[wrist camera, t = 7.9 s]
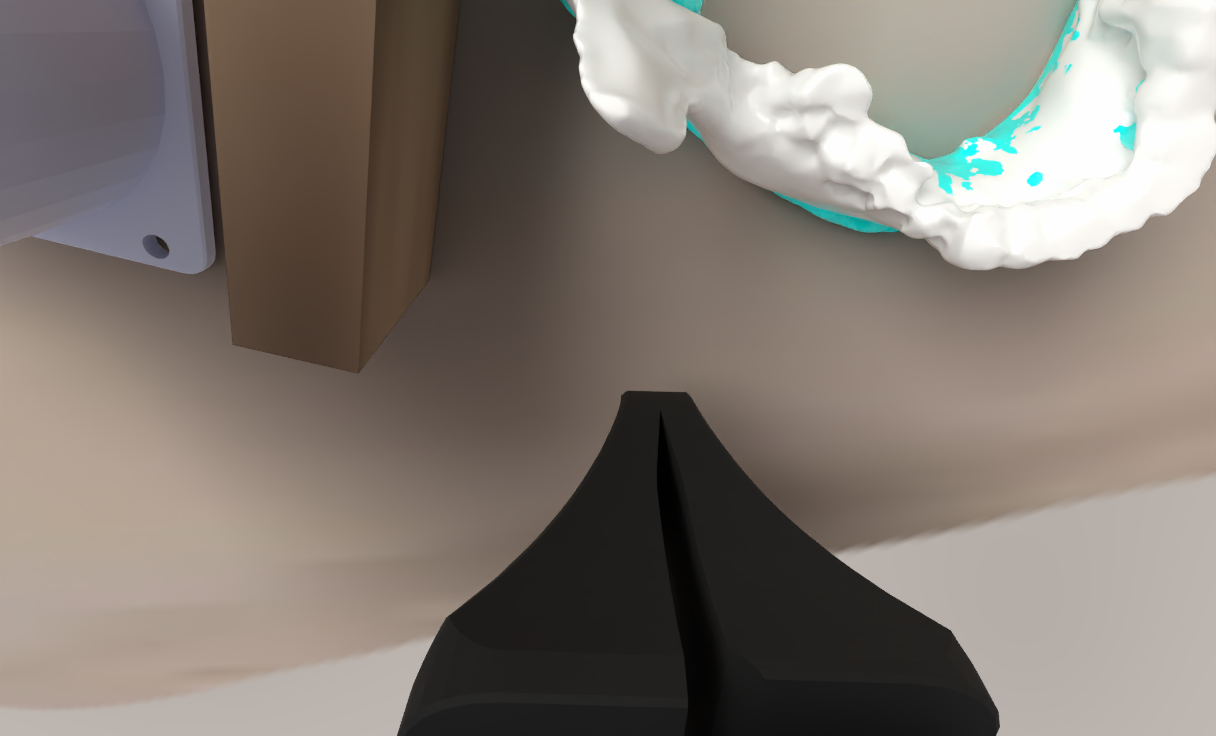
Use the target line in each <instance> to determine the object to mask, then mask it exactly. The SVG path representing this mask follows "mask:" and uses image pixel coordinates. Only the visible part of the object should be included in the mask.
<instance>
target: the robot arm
mask: <svg viewBox="0 0 1216 736" xmlns="http://www.w3.org/2000/svg"><path fill="white" fill-rule="evenodd" d="M30 236H31V237H36V238H40V239H44V240H48V241H52V242H56V243H60V244H65V245H69V246H73V247H77V248H81V249H85V250H89V251H94V252H98V253H102V254H106V255H110V256H114V257H119V258H123V259H127V260H131V261H135V262H139V263H143V264H148V265H152V266H156V267H160V268H164V269H168V270H172V271H177V272H181V273H185V274H196V273H199V272H202V271H203V270H205V269H207V268H209V267H210V266H211V265H212V264H213V263H214V261H215V256H216V250H215V239H214V229H213V218H212V207H211V197H210V186H209V175H208V164H207V154H206V143H205V132H204V122H203V111H202V100H201V90H200V79H199V68H198V58H197V47H196V36H195V25H194V15H193V4H192V0H0V247H2V246H5V245H7V244H10V243H13V242H16V241H18V240H21V239H24V238H27V237H30ZM156 236H158V237H160V238H162V239H163V240H164V241H165V242H166V243H167V245H168V248H169V251H167V250H165V249H163V248H162V247H161V246H160V245H159V244H158V242H157V239H156ZM999 728H1000V724H999V712H998V710H997V708H996V706H995V705H994V702H993V701H992V699H991V697H990V695H989V693H988V691H987V690H986V688H985V686H984V684H983V682H982V680H981V678H980V676H979V675H978V673H977V671H976V669H975V668H974V666H973V664H972V663H971V661H970V659H969V658H968V656H967V655H966V653H965V652H964V650H963V649H962V647H961V646H960V644H959V643H958V641H957V640H956V638H955V636H954V635H953V633H952V632H951V630H949V629H947V628H946V627H944V626H942V625H941V624H938V623H937V622H935V621H934V620H932V619H930V618H929V617H927V616H925V615H924V614H922V613H920V612H919V611H917V610H915V609H914V608H912V607H910V606H908V605H907V604H905V603H903V602H902V601H900V600H898V599H896V598H895V597H893V596H892V595H890V594H888V593H887V592H885V591H884V590H882V589H880V588H879V587H878V586H876V585H875V584H873V583H872V582H870V581H869V580H867V579H866V578H864V577H863V576H861V575H860V574H859V573H857V572H856V571H854V570H853V569H851V568H850V567H849V566H847V565H846V564H845V563H843V562H842V561H840V560H839V559H838V558H836V557H835V556H834V555H832V554H831V553H830V552H829V551H827V550H826V549H825V548H824V547H822V546H821V545H820V544H819V543H817V542H816V541H815V540H814V539H812V538H811V537H810V536H809V535H807V534H806V533H805V532H804V531H802V530H801V529H800V528H799V527H798V526H797V525H796V524H794V523H793V522H792V521H791V520H790V519H789V518H788V517H787V516H785V515H784V514H783V513H782V512H781V511H780V510H779V509H778V508H777V507H776V506H775V505H774V504H773V503H772V502H771V501H770V500H769V499H768V498H767V497H766V496H765V495H764V494H763V493H762V492H761V490H760V489H759V488H758V487H757V486H756V485H755V484H754V483H753V482H752V480H751V479H750V478H749V477H748V476H747V475H746V474H745V472H744V471H743V470H742V469H741V468H740V467H739V465H738V464H737V463H736V462H735V460H734V459H733V458H732V457H731V455H730V454H729V453H728V451H727V450H726V449H725V447H724V446H723V445H722V443H721V442H720V441H719V439H718V438H717V437H716V435H715V434H714V432H713V431H712V430H711V428H710V427H709V425H708V424H707V422H706V421H705V419H704V418H703V416H702V415H701V413H700V411H699V410H698V408H697V406H696V405H695V403H694V401H693V400H692V398H691V397H690V396H689V394H688V393H687V392H651V391H626V392H625V393H624V394H623V395H621V403H620V407H619V410H618V413H617V416H616V419H615V421H614V424H613V426H612V429H611V431H610V433H609V435H608V437H607V439H606V441H605V443H604V445H603V447H602V449H601V451H600V453H599V455H598V456H597V458H596V460H595V461H594V463H593V465H592V466H591V468H590V470H589V471H588V473H587V475H586V476H585V478H584V479H583V481H582V482H581V484H580V485H579V487H578V488H577V490H576V491H575V492H574V494H573V495H572V497H571V498H570V499H569V501H568V502H567V503H566V505H565V506H564V507H563V508H562V510H561V511H560V512H559V513H558V515H557V516H556V517H555V518H554V519H553V520H552V522H551V523H550V524H549V525H548V526H547V527H546V529H545V530H544V531H543V532H542V533H541V534H540V535H539V537H538V538H537V539H536V540H535V541H534V542H533V543H532V544H531V545H530V546H529V547H528V548H527V549H526V550H525V551H524V552H523V553H522V554H521V555H520V556H519V557H518V558H517V559H515V560H514V561H513V562H512V563H511V564H510V565H509V566H508V567H507V568H506V569H505V570H504V571H503V572H502V573H501V574H500V575H499V576H498V577H496V578H495V579H494V580H493V581H492V582H491V583H489V584H488V585H487V586H486V587H484V588H483V589H482V590H481V591H479V592H478V593H477V594H476V595H474V596H473V597H472V598H471V599H469V600H468V601H467V602H466V603H464V604H463V605H462V606H461V607H459V608H458V609H457V610H456V611H454V612H453V613H452V614H450V615H449V616H448V617H447V618H446V619H445V621H444V623H443V624H442V626H441V628H440V630H439V632H438V633H437V635H436V637H435V639H434V641H433V643H432V645H431V647H430V649H429V651H428V653H427V655H426V657H425V659H424V661H423V663H422V666H421V668H420V670H419V672H418V675H417V677H416V679H415V682H414V684H413V687H412V690H411V693H410V696H409V699H408V702H407V705H406V709H405V712H404V715H403V718H402V721H401V725H400V728H399V731H398V734H397V736H996V734H997V732H998V730H999Z"/></svg>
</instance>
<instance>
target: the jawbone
mask: <svg viewBox="0 0 1216 736" xmlns="http://www.w3.org/2000/svg"><path fill="white" fill-rule="evenodd" d="M560 1H561V2H562V3H563V4H564V6H565V7H566V9H567V10H568V11H569V12H570V13H571V14H572V15H573V16H574V17H576V19H577V24H576V27H575V32H574V34H573V39H574V43H575V46H576V48H577V51H578V53H579V56H580V63H579V72H580V78H581V84H582V87H583V89H584V92H585V94H586V96H587V97H588V99H589V101H590V103H591V105H592V106H593V107H594V109H595V110H596V111H597V112H598V113H599V115H600V116H601V117H602V118H603V119H604V120H605V121H606V122H607V123H608V124H609V125H610V126H611V127H612V128H614V129H615V130H616V131H618V132H619V133H621V134H623V135H625V136H626V137H628V138H630V139H632V140H634V141H635V142H637V143H639V144H641V145H643V146H644V147H646V148H648V149H649V150H651V151H652V152H654V153H656V154H666V153H669V152H672V151H674V150H676V149H677V148H678V147H679V146H680V145H681V143H682V142H683V140H684V139H685V137H686V128H687V129H689V130H690V131H691V132H692V133H693V134H694V135H695V136H697V137H698V138H700V139H701V140H702V141H703V142H704V144H705V146H707V147H708V148H709V150H710V151H711V152H712V154H713V155H714V156H715V157H716V159H717V160H718V161H719V162H720V163H721V164H722V165H723V166H724V167H725V168H726V169H727V170H729V171H730V172H731V173H733V174H734V175H736V176H737V177H739V178H741V179H743V180H746V181H748V182H750V183H753V184H755V185H757V186H759V187H762V188H765V189H768V190H771V191H773V192H774V193H775V194H776V195H778V196H779V197H781V198H783V199H786V200H788V201H789V202H791V203H793V204H797V205H799V206H800V207H802V208H804V209H805V210H807V211H809V212H810V213H812V214H814V215H815V216H817V217H820V218H822V219H823V220H826V221H828V222H831V223H835V224H839V225H842V226H844V227H847V228H850V229H853V230H856V231H860V232H864V233H875V232H898V231H901V232H902V233H904V234H905V235H906V236H908V237H911V238H915V239H923V238H924V239H925V240H927V242H928V243H929V244H930V245H931V246H932V247H934V248H935V249H937V250H938V251H939V252H940V254H941V256H942V258H943V259H944V260H945V261H947V262H948V263H950V264H952V265H954V266H957V267H960V268H963V269H968V270H991V269H994V268H997V267H1006V268H1012V269H1024V268H1029V267H1032V266H1035V265H1038V264H1040V263H1043V262H1045V261H1059V260H1075V259H1077V258H1079V257H1080V256H1081V255H1082V254H1083V253H1084V252H1085V251H1087V250H1093V249H1098V248H1101V247H1103V246H1105V245H1106V244H1107V243H1108V242H1109V241H1110V240H1111V239H1112V238H1113V237H1114V236H1116V235H1120V234H1125V233H1128V232H1132V231H1136V230H1138V229H1140V228H1141V227H1142V226H1143V225H1144V223H1145V222H1146V221H1147V219H1148V218H1150V217H1157V216H1166V215H1168V214H1170V213H1171V212H1172V211H1173V210H1174V209H1175V208H1176V207H1177V206H1178V205H1179V204H1180V203H1181V202H1182V201H1183V200H1184V199H1185V198H1186V197H1188V196H1189V195H1191V194H1192V193H1193V192H1195V191H1196V190H1197V189H1198V188H1199V186H1200V183H1201V180H1202V178H1203V176H1204V174H1205V173H1206V172H1207V170H1208V169H1209V168H1210V165H1211V162H1212V160H1213V158H1214V157H1215V155H1216V122H1215V113H1216V0H1077V3H1076V5H1075V7H1074V8H1073V10H1072V12H1071V14H1070V16H1069V17H1068V19H1067V22H1066V24H1065V27H1064V29H1063V32H1062V34H1061V36H1060V38H1059V40H1058V42H1057V44H1056V46H1055V48H1054V50H1053V52H1052V54H1051V56H1050V58H1049V60H1048V62H1047V64H1046V66H1045V67H1044V69H1043V71H1042V73H1041V75H1040V77H1039V78H1038V80H1037V82H1036V83H1035V85H1034V86H1033V88H1032V90H1031V91H1030V93H1029V94H1028V96H1027V97H1026V98H1025V99H1024V100H1023V101H1022V102H1021V104H1020V105H1019V106H1018V107H1017V108H1016V109H1015V110H1014V111H1013V112H1012V113H1011V114H1010V115H1009V116H1008V117H1007V118H1006V119H1004V120H1003V121H1002V122H1001V123H1000V124H998V125H997V126H996V127H995V128H993V129H992V130H991V131H989V132H988V133H987V134H985V135H984V136H983V137H980V136H978V137H972V138H968V139H965V140H964V141H963V142H962V143H961V145H960V146H959V147H958V148H957V149H956V150H954V151H953V152H952V153H950V154H948V155H945V156H941V157H937V158H934V159H928V160H926V159H924V158H921V157H919V156H917V155H914V154H912V153H910V152H909V150H908V148H907V145H906V142H905V140H904V138H903V137H902V135H900V134H899V133H898V132H895V131H892V130H890V129H888V128H885V127H883V126H881V125H879V124H877V123H876V122H874V121H872V120H871V119H870V118H869V117H868V115H867V112H868V109H869V107H870V105H871V103H872V100H873V92H872V88H871V86H870V83H869V82H868V80H867V79H866V77H865V76H864V75H863V73H862V72H861V71H860V70H859V69H857V68H855V67H854V66H851V65H847V64H832V65H829V66H825V67H822V68H807V69H804V70H801V71H799V72H798V73H796V74H794V73H792V72H790V71H789V70H787V69H786V68H785V67H783V66H782V65H781V64H780V63H778V62H776V61H773V62H769V63H767V64H764V65H760V64H759V65H758V64H756V63H753V62H750V61H747V60H744V59H742V58H740V57H739V55H737V53H735V52H733V51H731V50H729V49H728V48H727V42H726V34H725V31H724V29H723V28H722V26H721V25H719V24H717V23H715V22H713V21H710V20H709V19H707V18H705V17H703V16H701V15H700V11H701V7H702V4H703V2H704V0H560Z"/></svg>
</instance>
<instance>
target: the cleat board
mask: <svg viewBox="0 0 1216 736" xmlns="http://www.w3.org/2000/svg"><path fill="white" fill-rule="evenodd" d="M459 9H460V0H204V11H205V23H206V35H207V47H208V59H209V70H210V82H211V94H212V106H213V118H214V129H215V141H216V153H217V165H218V177H219V188H220V200H221V212H222V224H223V236H224V247H225V259H226V271H227V283H228V295H229V306H230V318H231V330H232V342H233V345H236V346H241V347H245V348H249V349H254V350H258V351H262V352H267V353H271V354H275V355H280V356H284V357H289V358H293V359H297V360H302V361H306V362H310V363H315V364H319V365H323V366H328V367H332V368H336V369H341V370H345V371H349V372H354V373H359V372H360V371H361V369H362V368H363V367H364V365H365V364H366V363H367V361H368V360H369V359H370V357H371V356H372V355H373V353H374V352H375V351H376V349H377V348H378V347H379V346H380V344H381V343H382V342H383V340H384V339H385V338H386V336H387V335H388V334H389V332H390V331H391V330H392V328H393V327H394V326H395V324H396V323H397V322H398V320H399V319H400V318H401V317H402V315H403V314H404V313H405V311H406V310H407V309H408V307H409V306H410V305H411V303H412V302H413V301H414V299H415V298H416V297H417V295H418V294H419V293H420V291H421V290H422V289H423V287H424V286H425V285H426V284H427V282H428V281H429V275H430V266H431V257H432V248H433V239H434V231H435V222H436V213H437V204H438V195H439V186H440V177H441V168H442V160H443V151H444V142H445V133H446V124H447V115H448V106H449V97H450V89H451V80H452V71H453V62H454V53H455V44H456V35H457V26H458V18H459Z"/></svg>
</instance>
